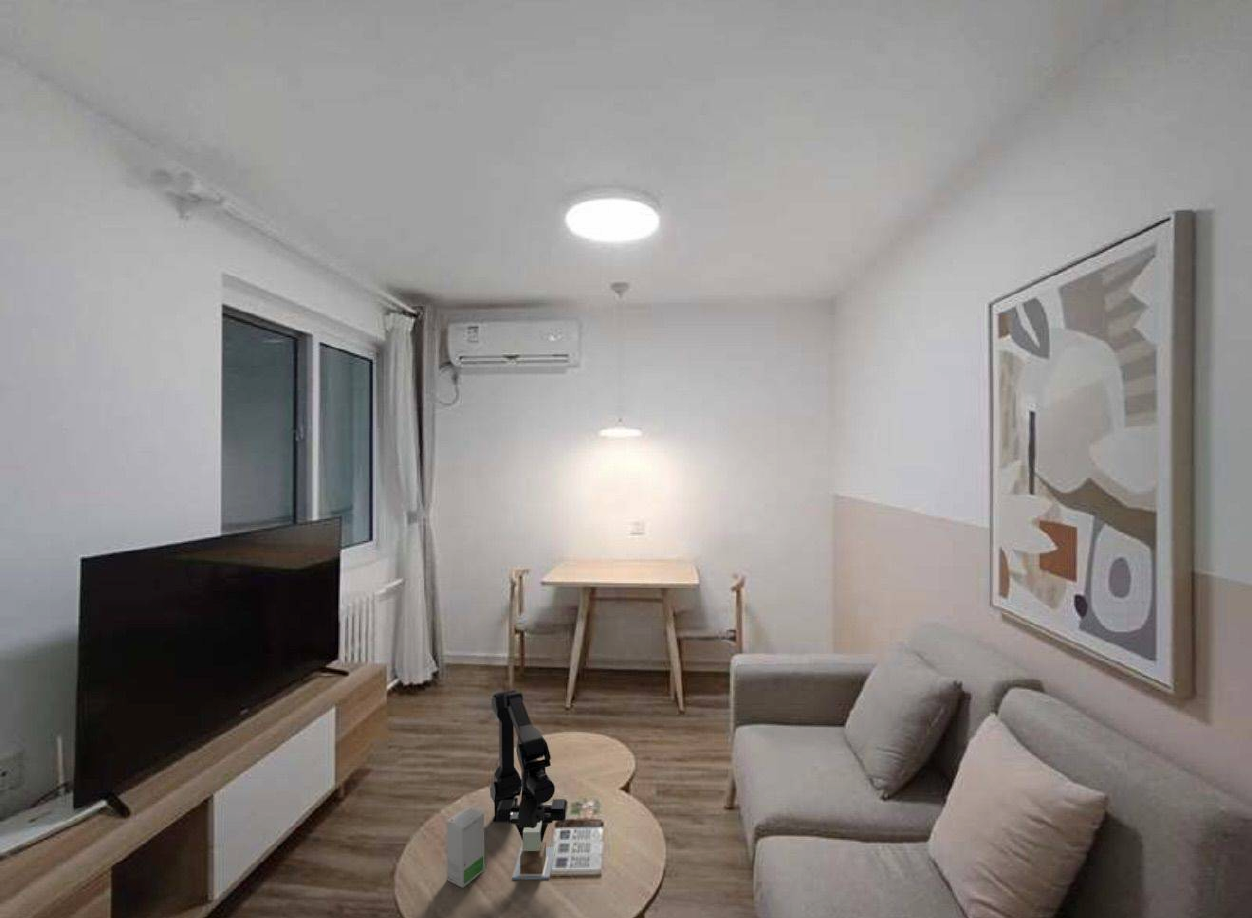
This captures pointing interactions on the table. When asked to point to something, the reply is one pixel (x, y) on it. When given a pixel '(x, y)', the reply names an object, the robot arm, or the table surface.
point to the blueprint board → (535, 876)
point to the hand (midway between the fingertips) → (532, 841)
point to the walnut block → (533, 861)
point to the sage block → (532, 838)
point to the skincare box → (465, 846)
